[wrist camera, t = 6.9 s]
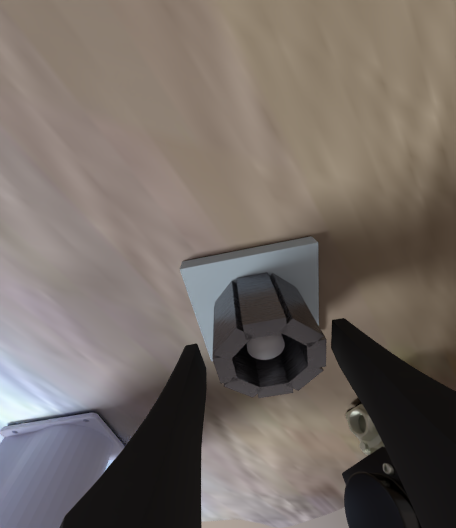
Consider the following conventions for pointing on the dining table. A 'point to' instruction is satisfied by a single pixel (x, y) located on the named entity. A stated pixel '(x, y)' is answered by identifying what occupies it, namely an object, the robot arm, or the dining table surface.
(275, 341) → the square plate with peg
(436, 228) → the dining table surface
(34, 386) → the dining table surface
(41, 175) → the dining table surface
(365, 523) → the pneumatic valve
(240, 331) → the ring
